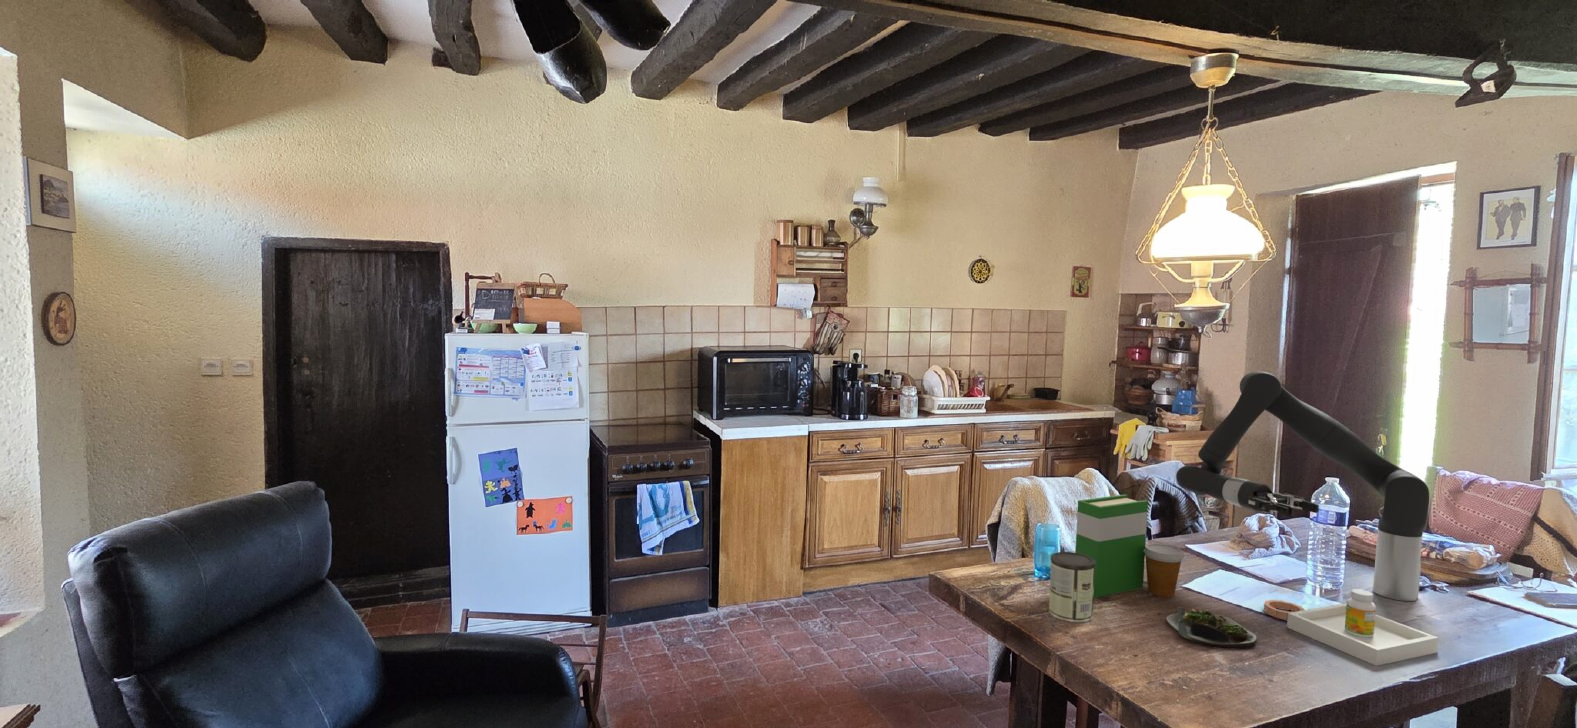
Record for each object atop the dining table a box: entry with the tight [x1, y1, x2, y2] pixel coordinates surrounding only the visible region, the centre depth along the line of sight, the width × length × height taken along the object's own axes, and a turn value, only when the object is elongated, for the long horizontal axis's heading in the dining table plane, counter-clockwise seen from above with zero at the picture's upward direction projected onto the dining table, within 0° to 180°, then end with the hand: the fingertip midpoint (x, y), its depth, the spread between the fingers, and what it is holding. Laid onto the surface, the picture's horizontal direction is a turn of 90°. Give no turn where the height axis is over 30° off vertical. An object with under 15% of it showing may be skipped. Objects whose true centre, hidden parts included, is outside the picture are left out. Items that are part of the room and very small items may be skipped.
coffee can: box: [1048, 551, 1095, 624], centre depth 185 cm, size 10×10×14 cm
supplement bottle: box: [1345, 588, 1377, 638], centre depth 173 cm, size 5×5×10 cm
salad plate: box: [1166, 606, 1258, 650], centre depth 177 cm, size 19×18×5 cm
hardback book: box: [1074, 494, 1149, 599], centre depth 202 cm, size 18×7×24 cm, turn 115°
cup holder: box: [1263, 599, 1306, 621], centre depth 187 cm, size 8×8×2 cm
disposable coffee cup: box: [1144, 543, 1185, 598], centre depth 199 cm, size 10×10×12 cm
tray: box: [1286, 602, 1439, 667], centre depth 173 cm, size 20×20×4 cm
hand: (1305, 509), depth 187 cm, fingers open, 8 cm apart
